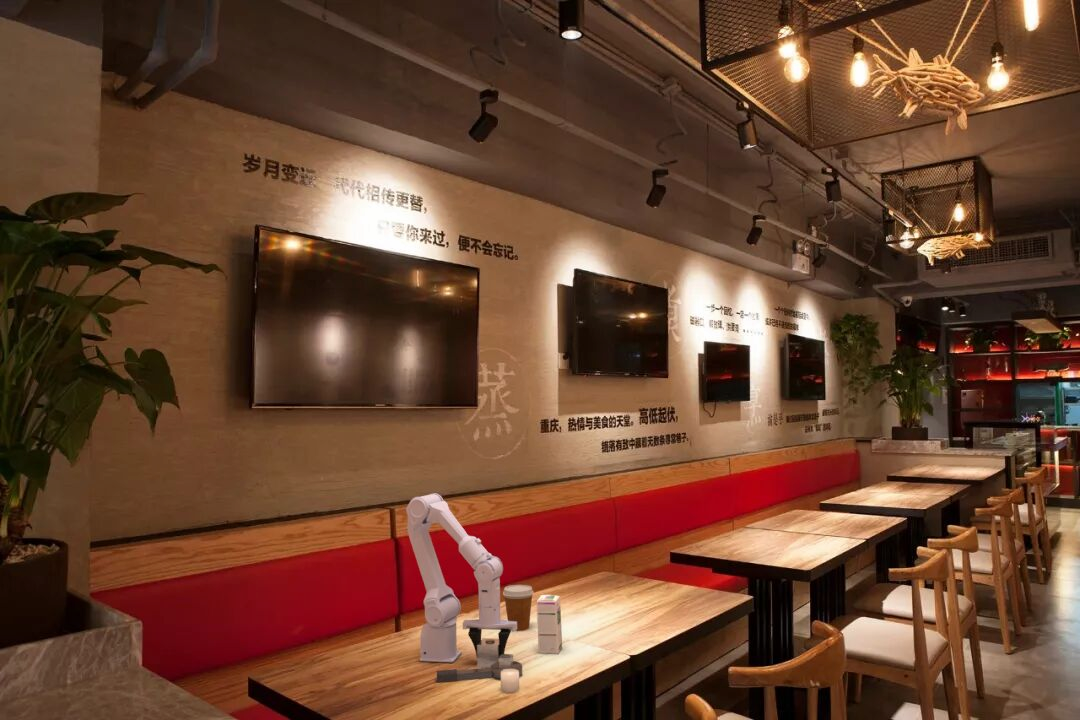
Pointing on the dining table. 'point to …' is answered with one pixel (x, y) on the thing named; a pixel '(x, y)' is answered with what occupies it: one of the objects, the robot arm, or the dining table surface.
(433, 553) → the robot arm
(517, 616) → the disposable coffee cup
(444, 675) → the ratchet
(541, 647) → the syrup box
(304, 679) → the dining table surface
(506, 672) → the pale pink cylinder
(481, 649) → the tan square block
